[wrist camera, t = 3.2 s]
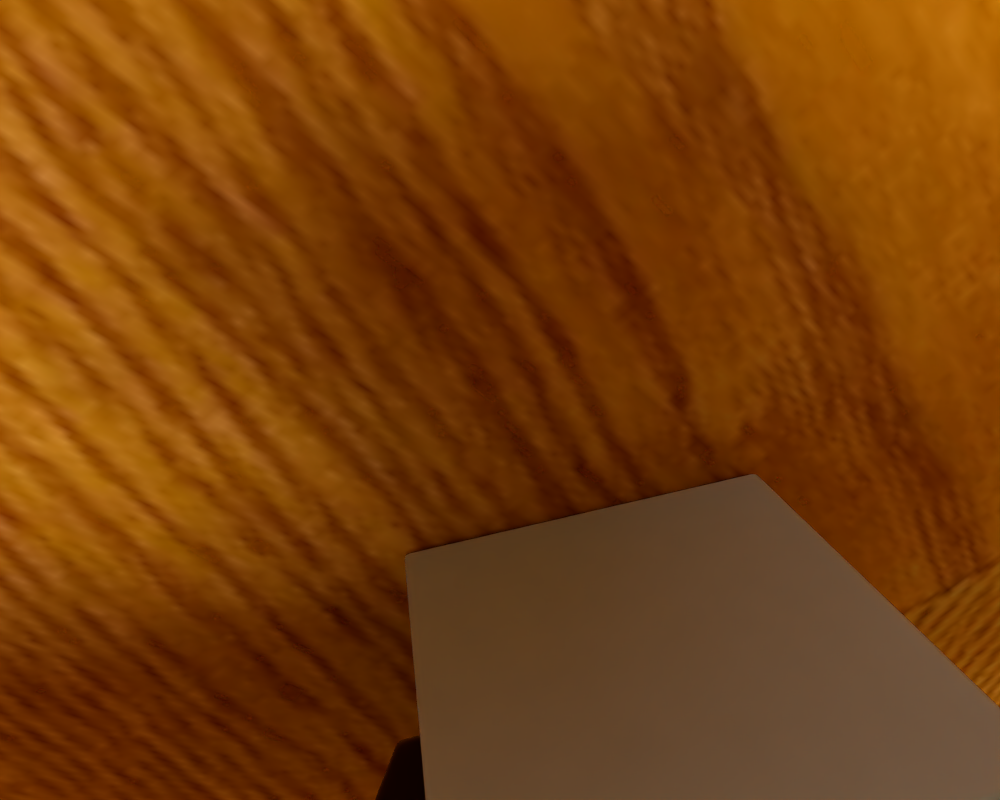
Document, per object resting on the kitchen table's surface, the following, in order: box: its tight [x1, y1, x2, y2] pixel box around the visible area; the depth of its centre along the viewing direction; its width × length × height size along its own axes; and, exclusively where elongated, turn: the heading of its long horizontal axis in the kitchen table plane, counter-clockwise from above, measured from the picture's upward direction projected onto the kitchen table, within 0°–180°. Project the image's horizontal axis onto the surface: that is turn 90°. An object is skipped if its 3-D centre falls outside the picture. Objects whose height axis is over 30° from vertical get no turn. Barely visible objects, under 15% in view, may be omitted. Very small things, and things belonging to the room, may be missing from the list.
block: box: [405, 474, 1000, 800], centre depth 8 cm, size 5×5×5 cm
